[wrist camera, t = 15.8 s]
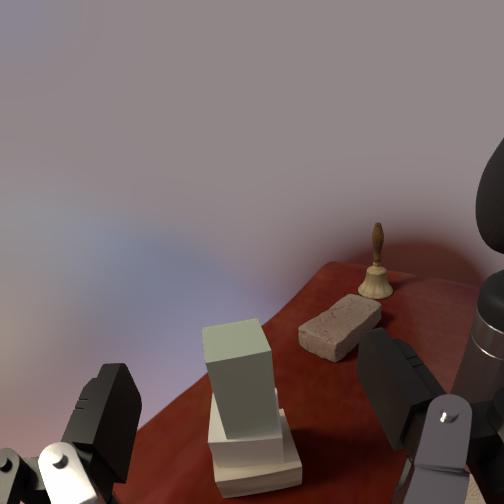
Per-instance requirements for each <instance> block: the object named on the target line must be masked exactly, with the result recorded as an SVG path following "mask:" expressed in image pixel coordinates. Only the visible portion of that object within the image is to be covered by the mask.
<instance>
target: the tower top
mask: <svg viewBox="0 0 504 504" xmlns="http://www.w3.org/2000/svg"><path fill="white" fill-rule="evenodd" d="M275 397H276V408H277V419H278V429H275V430H271V431H266V432H262V433H257V434H252V435H247V436H242V437H237V438H232V439H226V435H225V432H224V429H223V425H222V422H221V418H220V415H219V411H218V408H217V404H216V400H215V397H214V393H213V395H212V405H211V415H210V425H209V436H208V444H209V447H210V449H211V452H212V454H213V457H214V459H215V462H216V464H217V467H236V466H254V465H266V464H276V463H284V451H283V438H282V429H281V421H280V413H279V405H278V397H277V389H276V388H275Z"/></svg>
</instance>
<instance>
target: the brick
mask: <svg viewBox="0 0 504 504" xmlns="http://www.w3.org/2000/svg"><path fill="white" fill-rule="evenodd" d="M381 309H382V308H381V304H380V303H379V302H377V301H375V300H372V299H366V298H365V297H360V296H357V295H353V294H348V295H347V296H345V297H344V298H342V299H340V300H339V301H338V302H337V303H335V304H334V306H332V307H331V308H330V310H327V311H326V312H323V313H321V314H320V315H319V316H318V317H316V318H313V319H312V320H309V321H308V322H306V323H305V324H303V325H302V326H300V327H299V341H300V345H301V346H302V347H303V348H305V349H306V350H308V351H309V352H311V353H315V354H316V355H318V356H320V357H321V358H326V359H328V360H330V361H332V362H338V361H339V360H341V359H342V358H343V357H345V356H346V354H347V352H350V351H351V350H352V349H353V348H354V347H355V346H356V345H357V344H358V343H359V339H360V334H361V332H364V331H368V330H372V329H373V328H374V327H375V326H376V325H377V323H378V322H379V321H380V320H381Z"/></svg>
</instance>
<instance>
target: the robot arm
mask: <svg viewBox="0 0 504 504" xmlns="http://www.w3.org/2000/svg"><path fill="white" fill-rule="evenodd" d="M476 221H477V226H478V229H479V232H480V234H481V237H482V239H483V240H484V241H485V243H486V244H487V245H488V246H489V247H490V248H491V249H493V250H495V251H497V252H499V253H502V254H504V138H503V140H502V141H501V143H500V144H499V146H498V147H497V149H496V150H495V152H494V153H493V155H492V157H491V158H490V160H489V161H488V163H487V165H486V167H485V169H484V172H483V174H482V177H481V180H480V184H479V187H478V191H477V197H476ZM357 373H358V378H359V381H360V383H361V385H362V387H363V389H364V391H365V393H366V395H367V397H368V399H369V401H370V403H371V405H372V407H373V409H374V411H375V413H376V415H377V417H378V420H379V422H380V424H381V426H382V428H383V430H384V432H385V434H386V436H387V438H388V440H389V442H390V445H391V447H392V449H393V451H397V450H400V449H403V448H405V449H406V451H407V453H408V455H407V457H406V460H405V463H404V466H403V469H402V472H401V475H400V478H399V480H398V483H397V486H396V488H395V491H394V494H393V496H392V499H391V501H390V503H389V504H465V500H466V496H467V491H468V486H469V481H470V474H469V472H466V471H465V465H466V464H467V465H468V467H469V469H470V471H471V473H472V476H473V478H474V480H475V482H476V484H477V486H478V488H479V490H480V492H481V494H482V496H483V499H484V501H485V503H486V504H504V270H502V271H499V272H497V273H495V274H493V275H491V276H489V277H488V278H487V279H486V280H485V281H484V283H483V285H482V287H481V290H480V294H479V298H478V303H477V308H476V312H475V316H474V320H473V324H472V328H471V332H470V335H469V339H468V342H467V345H466V349H465V352H464V355H463V358H462V361H461V364H460V367H459V370H458V373H457V375H456V378H455V381H454V383H453V386H452V389H451V391H450V394H447V393H446V392H445V391H444V389H443V388H442V387H441V385H440V384H439V383H438V381H437V380H436V379H435V377H434V376H433V375H432V373H431V372H430V371H429V369H428V368H427V367H426V365H424V363H423V361H422V360H421V359H420V357H418V355H417V354H416V352H415V351H414V350H413V348H412V347H411V346H410V345H409V344H407V343H406V342H404V341H402V340H401V339H399V338H397V339H393V340H392V338H391V337H390V336H389V334H388V333H387V332H386V330H385V329H384V328H377V329H373V330H368V331H364V332H361V334H360V339H359V350H358V360H357ZM141 409H142V402H141V396H140V393H139V391H138V389H137V387H136V385H135V383H134V381H133V378H132V376H131V374H130V372H129V370H128V367H127V366H126V365H125V364H124V363H113V364H103V365H102V367H101V369H100V372H99V374H98V376H97V378H92V379H91V380H90V381H89V382H88V383H87V384H86V385H85V387H84V388H83V390H82V392H81V394H80V397H79V401H77V404H76V406H75V410H73V413H72V415H71V417H70V420H69V422H68V425H67V428H66V430H65V432H64V435H63V437H62V440H61V442H57V443H54V444H51V445H49V446H48V447H46V448H45V449H44V451H43V452H42V453H41V455H40V456H39V457H31V458H21V457H20V456H19V455H18V454H17V453H16V452H15V451H14V450H12V449H10V448H4V449H1V450H0V504H20V501H22V502H23V503H24V504H121V502H120V501H119V499H118V498H117V496H116V494H115V493H114V491H113V490H112V489H113V484H114V483H123V484H126V480H127V475H128V470H129V465H130V460H131V455H132V450H133V445H134V441H135V436H136V432H137V427H138V423H139V418H140V414H141Z"/></svg>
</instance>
